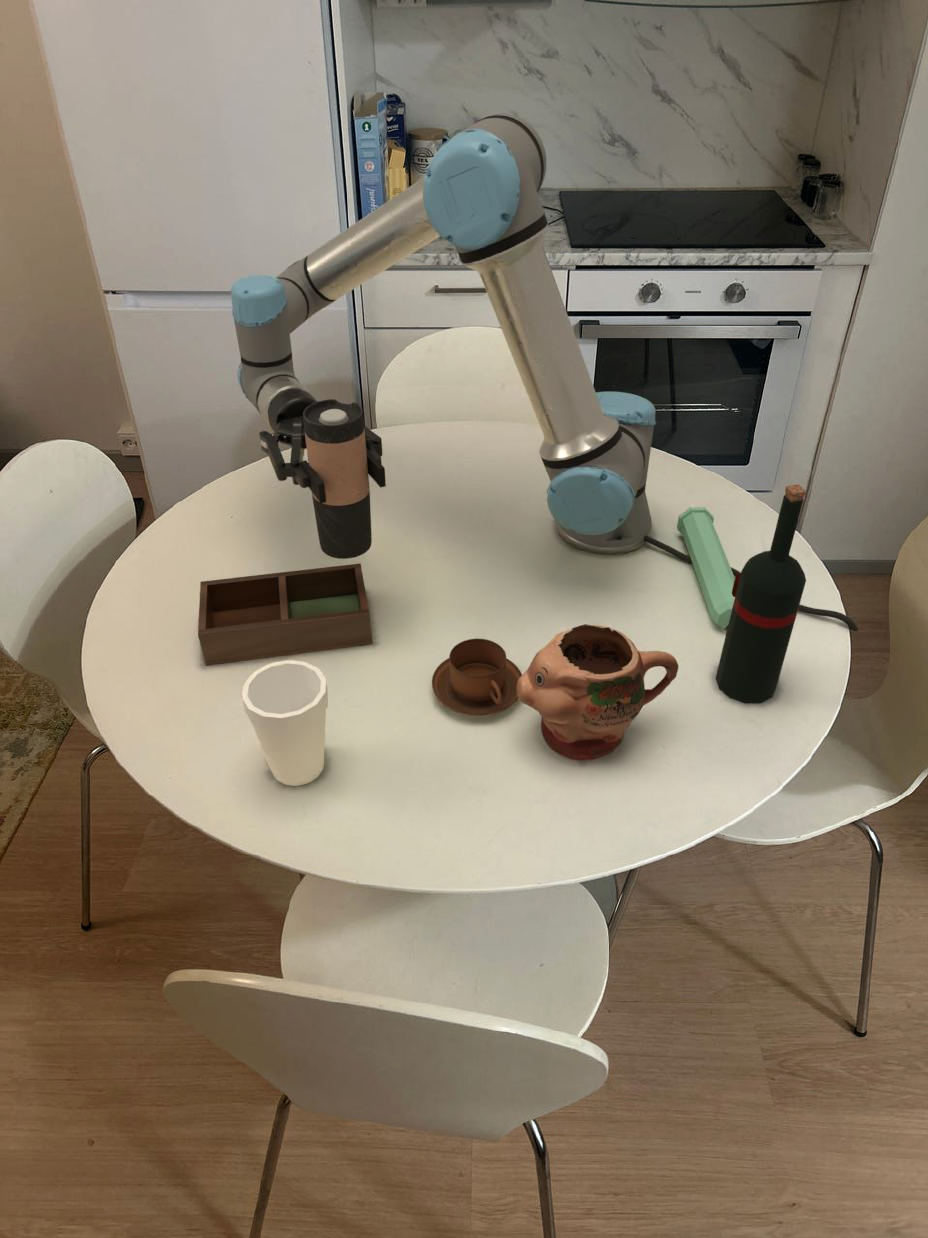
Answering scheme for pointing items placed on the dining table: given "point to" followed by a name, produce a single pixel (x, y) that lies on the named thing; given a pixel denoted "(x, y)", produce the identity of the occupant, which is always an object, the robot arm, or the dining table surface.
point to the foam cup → (289, 718)
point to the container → (708, 562)
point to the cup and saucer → (476, 679)
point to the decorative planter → (590, 689)
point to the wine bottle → (763, 612)
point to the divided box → (283, 614)
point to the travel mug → (340, 476)
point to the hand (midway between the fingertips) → (352, 485)
